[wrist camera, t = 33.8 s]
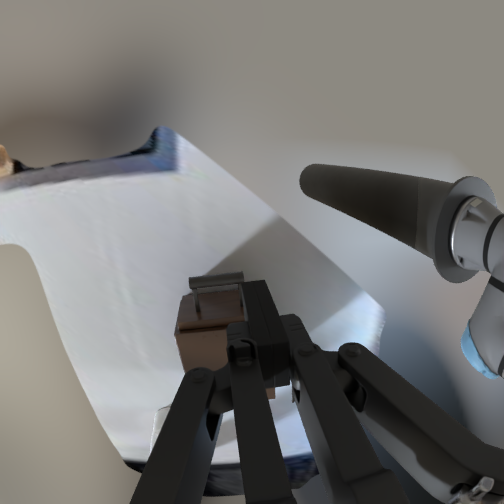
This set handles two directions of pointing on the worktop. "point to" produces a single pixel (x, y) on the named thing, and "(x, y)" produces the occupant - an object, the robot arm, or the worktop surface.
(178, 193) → the worktop surface
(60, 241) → the worktop surface
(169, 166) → the worktop surface
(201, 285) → the drawer
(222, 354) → the cabinet
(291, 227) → the worktop surface
